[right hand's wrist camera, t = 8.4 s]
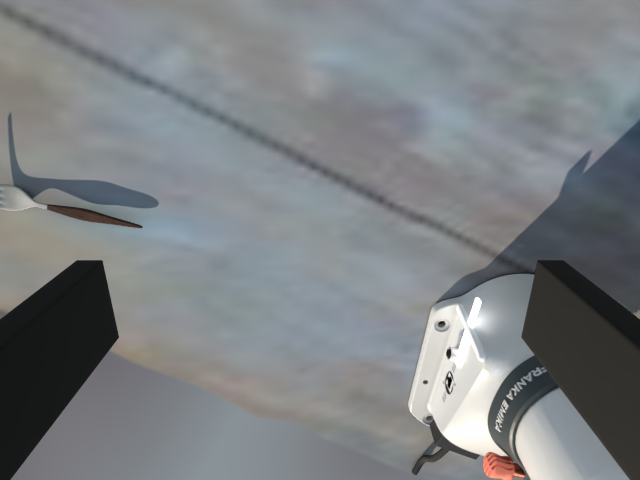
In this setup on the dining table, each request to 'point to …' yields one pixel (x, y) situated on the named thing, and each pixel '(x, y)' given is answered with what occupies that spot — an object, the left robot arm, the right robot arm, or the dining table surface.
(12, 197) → the fork
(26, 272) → the dining table surface
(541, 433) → the left robot arm
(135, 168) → the dining table surface
